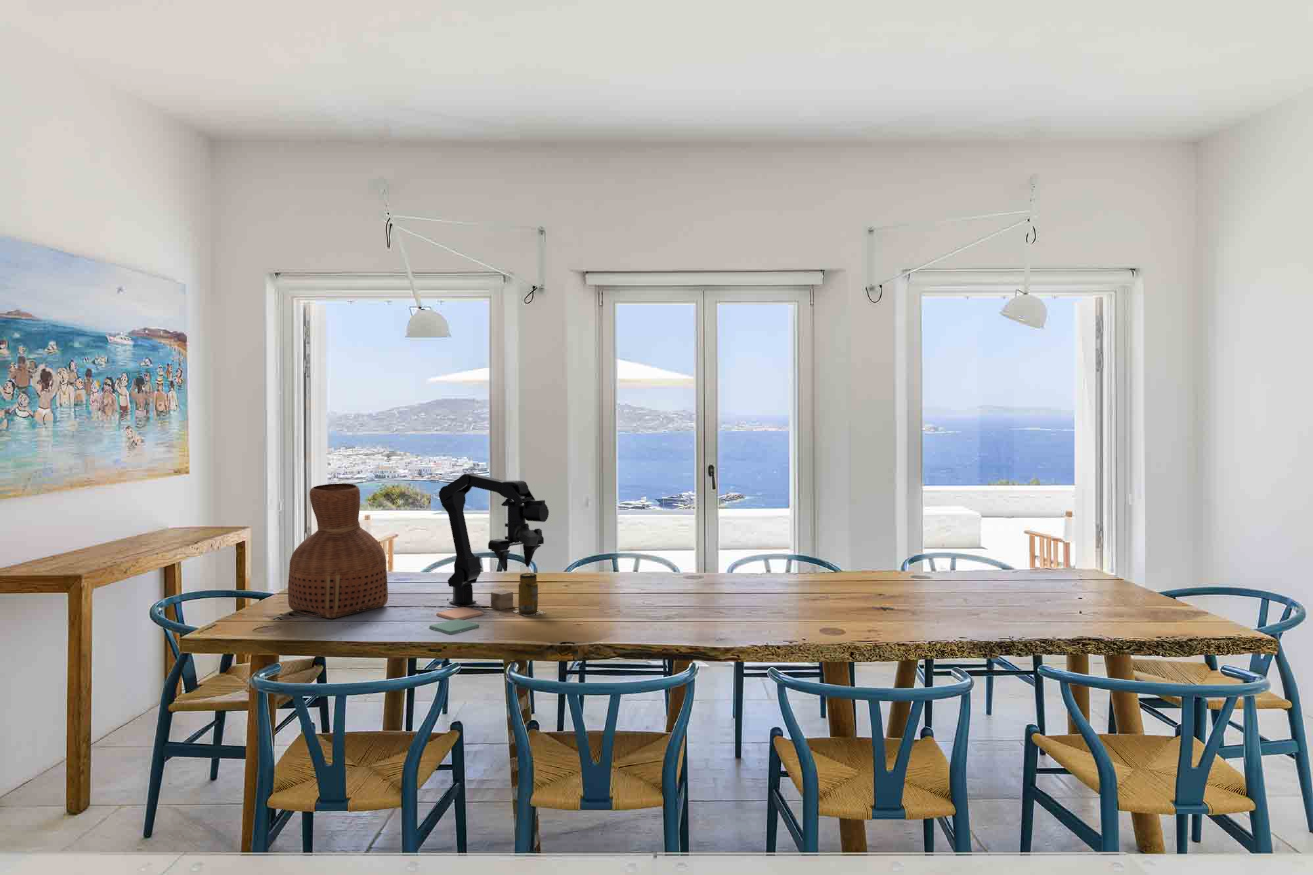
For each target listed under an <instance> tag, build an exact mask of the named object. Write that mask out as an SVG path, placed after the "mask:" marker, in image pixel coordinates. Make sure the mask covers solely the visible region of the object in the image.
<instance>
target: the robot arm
mask: <svg viewBox="0 0 1313 875" xmlns="http://www.w3.org/2000/svg"><path fill="white" fill-rule="evenodd" d="M473 488H476V489H477V488H478V489H481V490H485V491H488V492H489V491H490V492H495V493H496V494H499V495H500V496H501V497H503V498H506V499H505V500H504V501H503V502H502V503H501V504H500V505H501V506H502V507H507V522H506V523H504V527H505V528H507V535H505V536H504V539H502V538H497V539H490V540H489V541H488V543H487V549H488V550H490V551H491V552H492V553H493V552H494V554H495V556H496V558H497V559H498V561H499V563H500V565H501V566H500V567H501V568H502V570H503V571H504V572H508V559H509V558H508V555H509V554H510V552H511V550H510V547H513V546H519V545H522V548H523V557H524V564H525V567H526V568H529V567H530V566H531V563H532V559H533V556H534V554H535V553H536V550H537V549H539V548H540V547H541V545H544V542H545V541H544V540H545V539H544V536H543V530H542V529H540V528H535V529H530V524H529V523H527V522H538V523H539V522H540V523H545V522H546V521H547V520H548V518H549V513H550V511H549V507H548V505H547V504H546V501H545V499H540V500H536V498H535V497H534V495H533V493H532V492H531V491H530V489H529V485H528V484H527V482H526V481H525V480H503V479H497V478H494V477H490V476H485V475H480V474H476V473H473V472H469V473H468V472H467V473H464V474H462V475H461V476H459V477H458V478H456V479H455V480H452V481H451V482H449V484H447V485H445V486H442V487H441V488H440V490H439V491H438V498H439V501H440V503H441V505H442V508H443V509H444V510H445V511H446V512H447V515H448V520H449V524H450V530H451V536H452V540H453V544H454V549H455V550H454V551H455V554H456V555H455V560H454V564H453V569H454V570H453V571H454V572H453V573H452V575H451V576H450V577H449V578H448V579H447V583H448V584H447V585H448V587H452V600H451V601H449V602H448V604H450V605H456V606H459V607H464V606H467V605H472V604H476V603H477V600H474V599H473V598H474V592H473V584H475V583H477V581H478V578H479V577H480V574H481V573H482V572H481V569H483V568H482V565H481V560H480V556H479V555H478V556H475V555H474V553H473V552H472V548H471V543H470V538H469V534H468V528H467V524H466V518H465V514H464V508H465V504H466V495H467V494H468V493H469V492H470V491H471V490H472V489H473Z"/></svg>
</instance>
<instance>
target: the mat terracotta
mask: <svg viewBox="0 0 1313 875" xmlns="http://www.w3.org/2000/svg"><path fill="white" fill-rule="evenodd" d="M435 614H436V616H437V617H440V618H443V619H444V618H445V619H448V620H450V621H451V620H455V619H461V620H465V619H469V618H470V619H471V618H475V617H479V616H482V615H483V616H484V612H483V611H480V610H476V609H473V608H469V607H464V606H460V607H458V608H453V609H452V608H451V609H447V610H444V611H439V612H436V613H435Z"/></svg>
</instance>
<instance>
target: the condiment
mask: <svg viewBox="0 0 1313 875" xmlns="http://www.w3.org/2000/svg"><path fill="white" fill-rule="evenodd" d="M537 577H538V575H537V574H536V573H534V572H526V573H521V574H520V575H519V583H518V597H517V598H518V608H517V609H518V610H519V611H518V610H513V611H512V612H514V613H515V614H519V615H520V616H521V615H522V616H524V617H531V616H538V615H543V614H546V611H542V610H539V609H538V608H539V584H538V582H537V581H538V580H537ZM537 610H539V611H537ZM517 612H519V613H517ZM536 612H539V613H536ZM543 612H544V613H543ZM535 614H536V615H535Z"/></svg>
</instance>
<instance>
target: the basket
mask: <svg viewBox="0 0 1313 875" xmlns="http://www.w3.org/2000/svg"><path fill="white" fill-rule="evenodd" d="M360 490H361V489H360V488H359V486H358V485H356V484H353V483H345V482H344V483H343V482H342V483H341V482H340V483H328V484H327V483H326V484H320V485H316V486H313V487H312V488H310V490H309V499H310V500H309V501H310V504H311V508H312V512H313V513H314V515H315V516H314V517H315V520H316V524H317V531H315V532H314V533H312V534H311V535H310V536H308V537H306V539H305V540H303V541H302V542H301V543H300V544H299V545H298V546H297V547H296V548H295V550H294V551H293V553H292V555H291V556H290V560H289V564H288V565H289V570H288V580H287V599H288V600H287V602H288V607H289V608H290V609H291V610H292V611H293V612H297V613H301V614H303V615H308V616H313V617H319V618H324V619H325V618H327V619H335V618H340V617H345V616H348V615H353V614H357V613H362V612H364V611H369V610H372V609H377V608H382V607H384V606H385V605H386V604H388V601H389V600H388V599H389V597H388V596H389V594H388V592H389V589H388V570H387V558H386V553H385V549H384V548H383V546H382V544H381V543H380V542H379V541H378V540H377V539H376V538H375V537H374V536H373V535H372V534H371V533H369V532H368V531H367V530H365V529H363V528H362V527H361V525H360V524H361V523H360V521H359V517H360V516H359V515H360V510H361V509H360V508H361V491H360ZM310 612H311V613H310Z"/></svg>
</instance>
